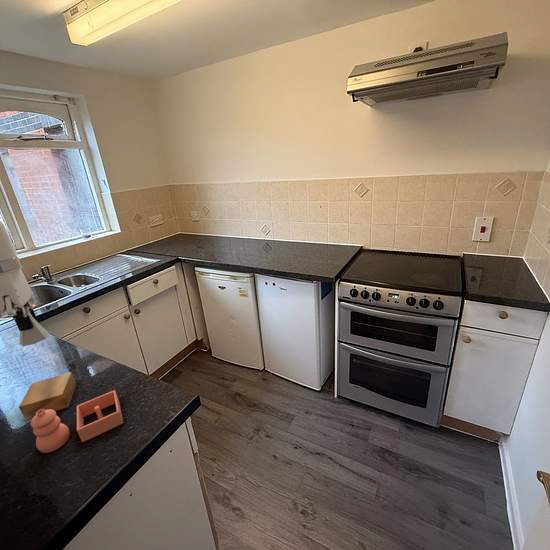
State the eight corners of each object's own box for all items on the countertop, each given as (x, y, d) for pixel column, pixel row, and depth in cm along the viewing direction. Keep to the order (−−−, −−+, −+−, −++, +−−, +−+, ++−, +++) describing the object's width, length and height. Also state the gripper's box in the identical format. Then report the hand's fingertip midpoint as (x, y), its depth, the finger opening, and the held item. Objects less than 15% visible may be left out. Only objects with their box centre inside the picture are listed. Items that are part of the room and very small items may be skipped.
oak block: (26, 421, 79) (18, 407, 78) (38, 396, 88) (32, 383, 86) (68, 408, 82) (62, 394, 81) (76, 385, 91) (71, 372, 89)
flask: (18, 349, 82) (3, 318, 79) (21, 339, 88) (7, 308, 84) (49, 339, 86) (37, 309, 82) (50, 329, 92) (38, 300, 88)
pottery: (119, 401, 83) (108, 373, 79) (123, 424, 75) (112, 393, 72) (41, 435, 74) (25, 405, 71) (37, 465, 67) (19, 433, 63)
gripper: (-2, 260, 85) (23, 317, 91) (-32, 278, 70) (1, 344, 77) (29, 255, 87) (52, 311, 94) (7, 272, 73) (35, 336, 79)
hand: (29, 325), depth 85 cm, fingers closed on flask, 3 cm apart
